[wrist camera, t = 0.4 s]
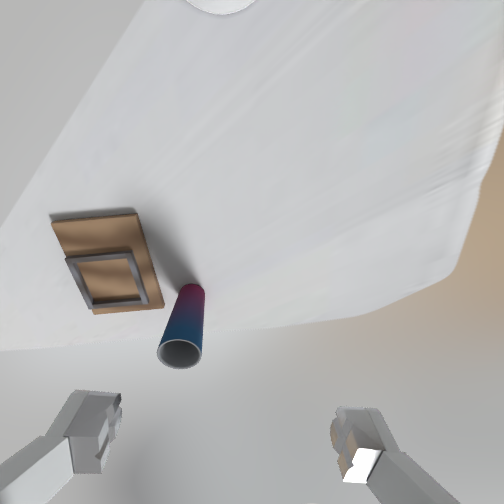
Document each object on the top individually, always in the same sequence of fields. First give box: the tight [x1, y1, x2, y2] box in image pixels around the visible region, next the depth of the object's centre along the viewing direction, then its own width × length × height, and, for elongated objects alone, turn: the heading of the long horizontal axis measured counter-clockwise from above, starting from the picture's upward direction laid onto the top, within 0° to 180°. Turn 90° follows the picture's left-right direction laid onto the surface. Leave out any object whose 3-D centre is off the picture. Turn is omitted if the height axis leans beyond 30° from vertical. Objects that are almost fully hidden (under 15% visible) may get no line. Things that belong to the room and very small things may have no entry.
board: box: [51, 213, 165, 315], centre depth 52 cm, size 20×14×2 cm
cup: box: [157, 284, 205, 369], centre depth 50 cm, size 7×7×15 cm
